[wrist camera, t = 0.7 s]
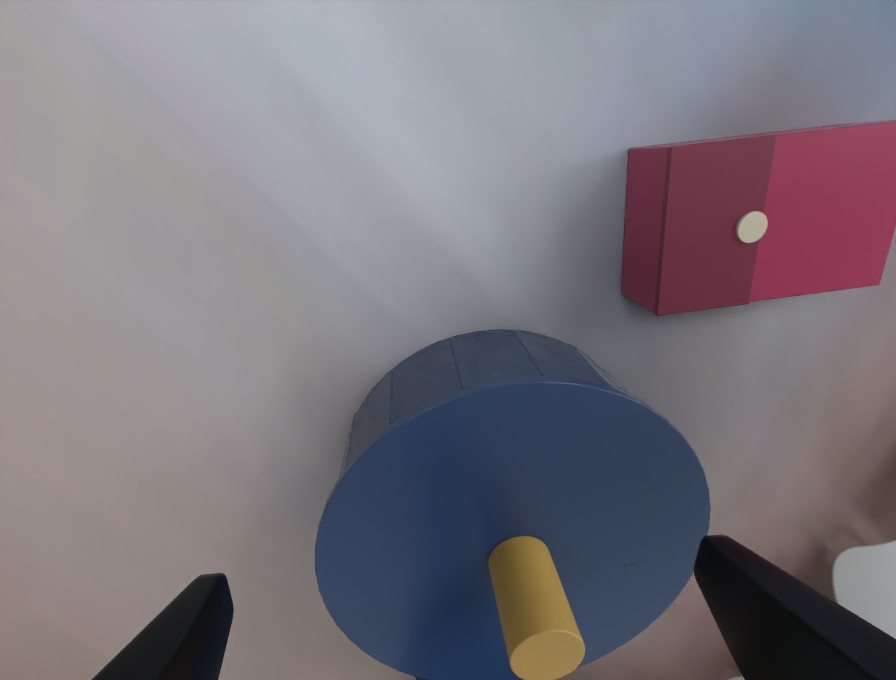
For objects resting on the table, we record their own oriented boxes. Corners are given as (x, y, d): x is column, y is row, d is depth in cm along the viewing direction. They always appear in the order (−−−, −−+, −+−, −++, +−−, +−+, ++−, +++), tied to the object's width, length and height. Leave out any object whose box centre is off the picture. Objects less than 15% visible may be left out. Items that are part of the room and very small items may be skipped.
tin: (620, 544, 28) (674, 639, 23) (372, 584, 27) (365, 692, 22) (635, 310, 22) (714, 361, 17) (317, 352, 21) (288, 420, 16)
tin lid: (676, 632, 23) (746, 752, 19) (357, 687, 22) (346, 827, 18) (718, 340, 17) (840, 411, 12) (274, 401, 16) (223, 502, 11)
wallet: (848, 123, 20) (936, 116, 16) (816, 268, 22) (887, 287, 19) (627, 148, 19) (674, 146, 16) (620, 293, 22) (659, 317, 18)
